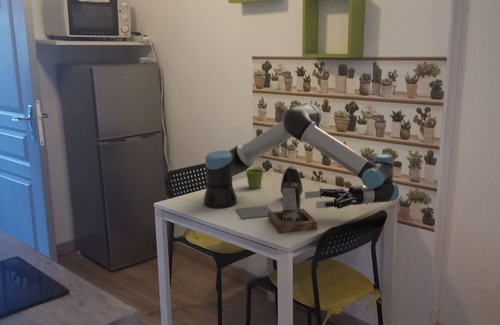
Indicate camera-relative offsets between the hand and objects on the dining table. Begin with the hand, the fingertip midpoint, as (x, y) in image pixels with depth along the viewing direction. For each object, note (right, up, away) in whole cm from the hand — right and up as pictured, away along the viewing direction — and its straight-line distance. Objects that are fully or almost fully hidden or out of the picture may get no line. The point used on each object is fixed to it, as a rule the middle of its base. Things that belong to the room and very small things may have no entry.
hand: (310, 199), depth 196 cm
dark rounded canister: (-4, -2, +34) cm, 35 cm away
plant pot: (-21, +2, +55) cm, 59 cm away
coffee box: (-7, -10, +1) cm, 12 cm away
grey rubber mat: (-22, -7, +16) cm, 28 cm away
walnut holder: (-7, -10, +1) cm, 12 cm away
